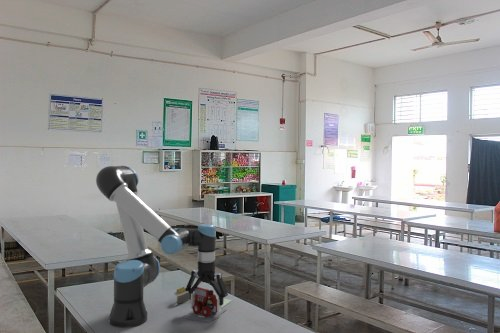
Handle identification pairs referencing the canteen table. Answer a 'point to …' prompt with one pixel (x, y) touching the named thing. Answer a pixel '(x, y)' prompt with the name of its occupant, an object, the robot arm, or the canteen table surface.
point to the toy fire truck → (204, 301)
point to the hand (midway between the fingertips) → (206, 310)
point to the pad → (226, 302)
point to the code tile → (202, 318)
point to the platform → (182, 295)
